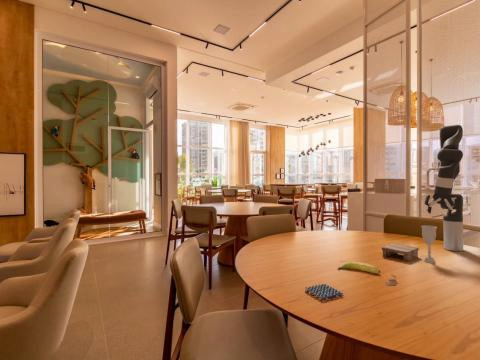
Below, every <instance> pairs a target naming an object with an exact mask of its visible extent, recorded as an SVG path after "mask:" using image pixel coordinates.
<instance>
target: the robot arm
mask: <svg viewBox="0 0 480 360" xmlns="http://www.w3.org/2000/svg"><path fill="white" fill-rule="evenodd" d="M463 130H464V129H463V127H462V125H460V124H454V125H447V126H446V125H443V126H441V127H440V128H439V145H440V146H439V147H440V149H439V151H438V153H437V159H438V161H439V163H440V165H439V170H438V173H437V178H436V181H435V185H434V186H435V187H434V192H433V195H432V194H431V195H430V194H429V193H428V194H426V196H425V199H424V205H425V206H427V210H426V211H427V213H428V214H431V213H432V209H433V208H432V207H433V206H434V205H436V204H437V205H440V208H441V209H442V210H447V212H446V214H445V215H443V217H442V220H443V221H442V222H443V223H442V224H443V225H442V226H443V229H442V230H443V249H445V250H448V251H454V252H464V214H463V211H464V197H463V195H462V194H460V193H459V194H458V193H453V190H454V189H453V188H454V182H455V180H456V179H457V177H458V176H459V173H460V169H461V168H460V167H461V166H460V163H461V161H462V160H463V157H464V152H463V151H462V150H461V149H460V143H461V142H462V139H463V134H464V131H463ZM430 199H432V201H431V200H430ZM453 210H455V211H454V212H453Z"/></svg>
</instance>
